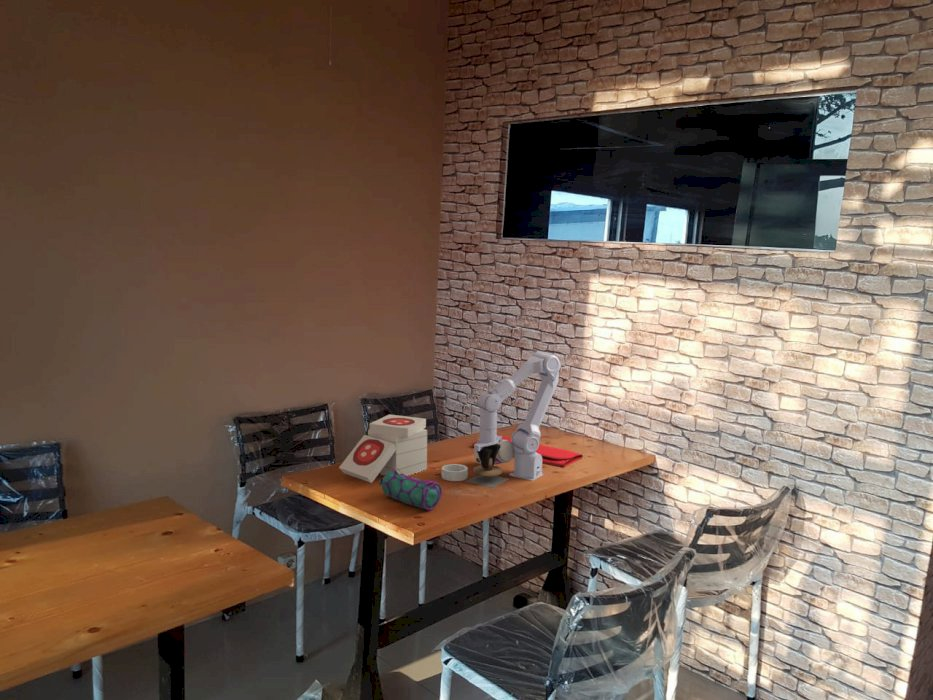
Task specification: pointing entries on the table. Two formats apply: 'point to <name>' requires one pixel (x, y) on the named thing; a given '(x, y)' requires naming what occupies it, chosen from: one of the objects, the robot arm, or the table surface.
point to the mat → (487, 480)
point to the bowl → (454, 472)
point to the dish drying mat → (553, 455)
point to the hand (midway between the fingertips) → (487, 466)
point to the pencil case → (411, 489)
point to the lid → (487, 470)
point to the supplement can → (501, 453)
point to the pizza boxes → (389, 448)
